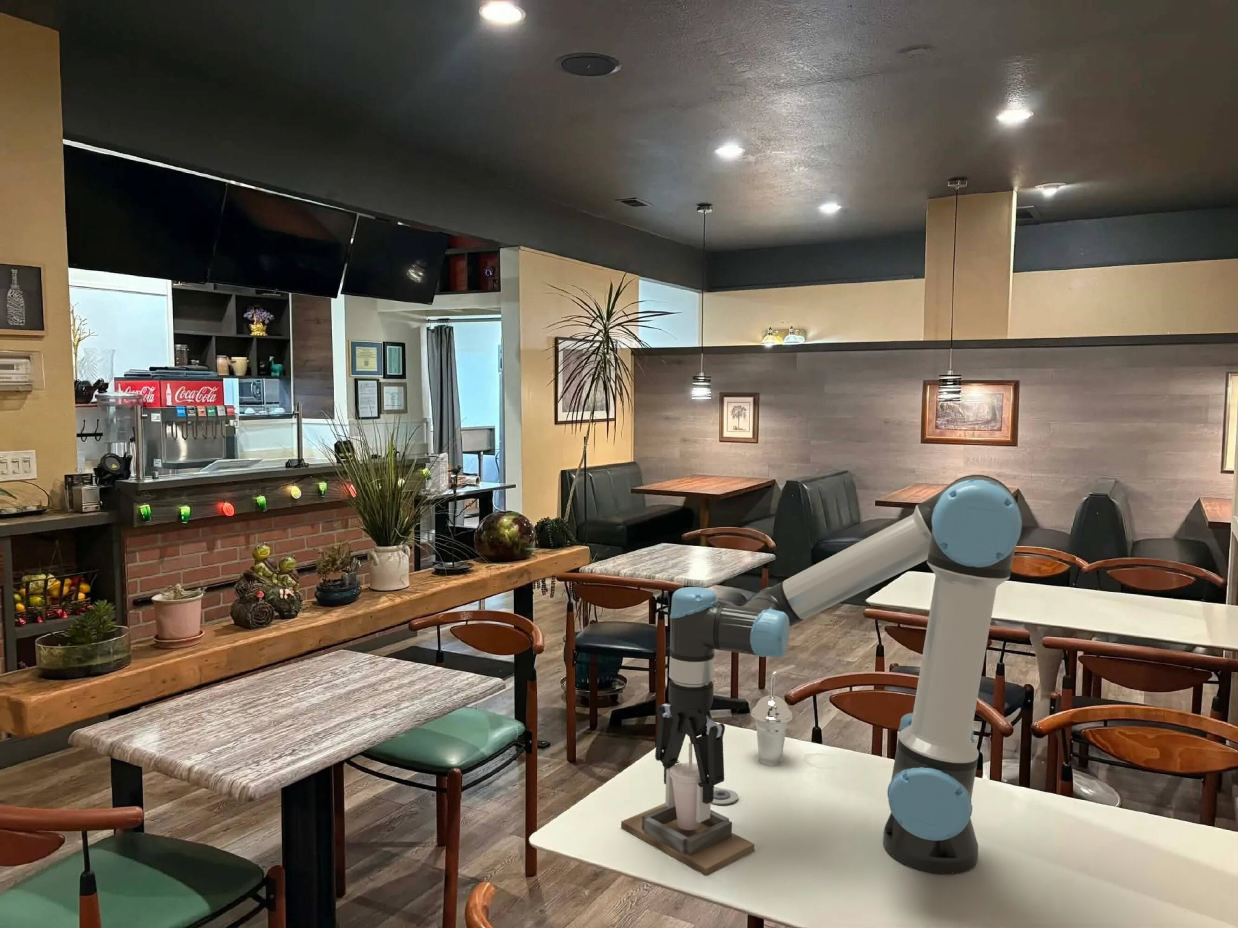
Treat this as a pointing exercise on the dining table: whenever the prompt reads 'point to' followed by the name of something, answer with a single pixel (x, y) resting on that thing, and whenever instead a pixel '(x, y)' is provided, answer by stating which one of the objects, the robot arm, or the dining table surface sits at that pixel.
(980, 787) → the dining table surface
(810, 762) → the dining table surface
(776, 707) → the domed lid cup
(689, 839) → the keeper board
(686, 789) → the smoothie
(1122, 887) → the dining table surface
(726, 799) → the grey arched plates
